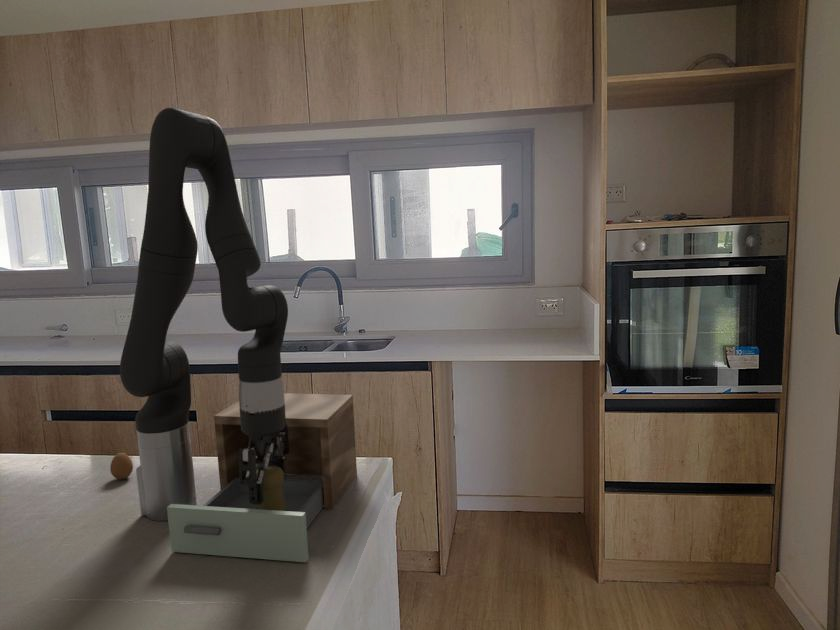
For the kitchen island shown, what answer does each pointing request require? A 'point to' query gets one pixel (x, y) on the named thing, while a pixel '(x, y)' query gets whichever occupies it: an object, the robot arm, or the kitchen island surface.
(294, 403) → the cabinet
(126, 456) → the egg
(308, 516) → the drawer
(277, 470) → the olive tall rounded piece
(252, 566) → the kitchen island surface
